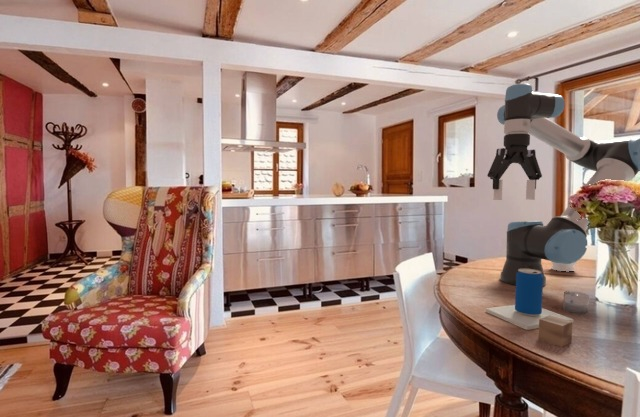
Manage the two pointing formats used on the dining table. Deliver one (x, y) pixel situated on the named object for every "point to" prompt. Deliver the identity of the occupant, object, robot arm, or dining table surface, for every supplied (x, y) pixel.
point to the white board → (522, 316)
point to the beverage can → (529, 292)
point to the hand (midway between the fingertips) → (514, 199)
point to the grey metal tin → (576, 302)
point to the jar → (563, 266)
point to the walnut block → (555, 330)
